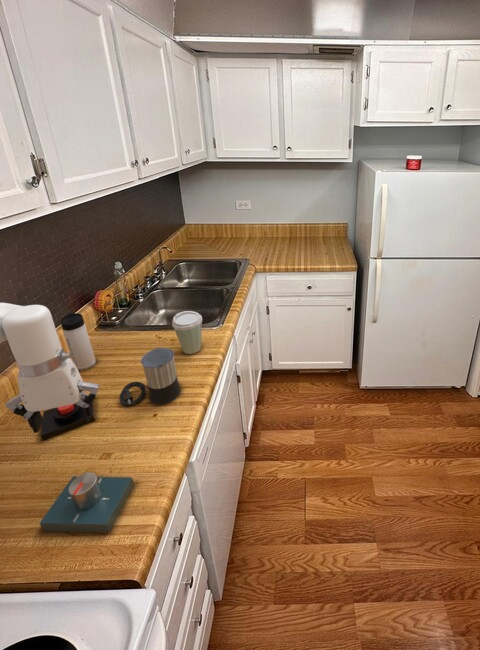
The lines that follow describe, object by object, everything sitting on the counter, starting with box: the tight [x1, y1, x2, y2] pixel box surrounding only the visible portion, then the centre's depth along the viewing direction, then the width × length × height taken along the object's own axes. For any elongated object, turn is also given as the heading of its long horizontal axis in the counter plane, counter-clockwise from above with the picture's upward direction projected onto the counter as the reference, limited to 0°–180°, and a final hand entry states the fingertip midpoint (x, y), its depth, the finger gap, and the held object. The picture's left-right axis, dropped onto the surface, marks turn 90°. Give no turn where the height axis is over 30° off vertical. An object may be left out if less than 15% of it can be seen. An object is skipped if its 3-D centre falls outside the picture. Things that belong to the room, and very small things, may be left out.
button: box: [58, 404, 75, 415], centre depth 95 cm, size 4×4×2 cm
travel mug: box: [60, 312, 97, 372], centre depth 115 cm, size 6×7×20 cm
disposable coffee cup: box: [171, 310, 203, 355], centre depth 124 cm, size 11×11×15 cm
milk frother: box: [119, 347, 182, 407], centre depth 102 cm, size 14×16×15 cm
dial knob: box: [69, 471, 102, 511], centre depth 72 cm, size 5×5×5 cm
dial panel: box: [39, 475, 135, 534], centre depth 73 cm, size 14×10×3 cm
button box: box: [40, 398, 96, 441], centre depth 96 cm, size 12×10×4 cm
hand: (64, 422), depth 76 cm, fingers open, 9 cm apart
